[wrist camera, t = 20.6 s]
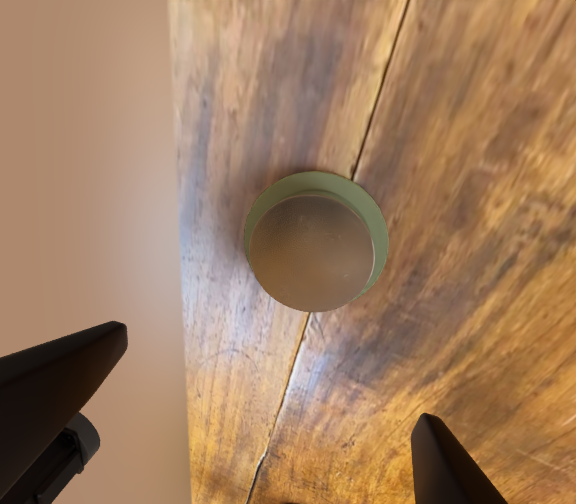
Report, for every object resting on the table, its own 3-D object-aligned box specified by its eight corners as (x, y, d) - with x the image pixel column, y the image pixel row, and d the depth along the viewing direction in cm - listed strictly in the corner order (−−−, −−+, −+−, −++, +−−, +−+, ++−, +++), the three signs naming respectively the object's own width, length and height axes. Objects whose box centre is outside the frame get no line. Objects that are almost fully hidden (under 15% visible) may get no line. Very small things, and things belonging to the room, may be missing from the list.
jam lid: (389, 204, 16) (394, 211, 14) (355, 308, 18) (356, 326, 16) (267, 178, 16) (257, 181, 15) (251, 281, 19) (242, 295, 17)
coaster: (239, 286, 20) (236, 290, 20) (256, 157, 17) (253, 157, 16) (363, 319, 19) (364, 324, 18) (408, 188, 16) (411, 190, 15)
